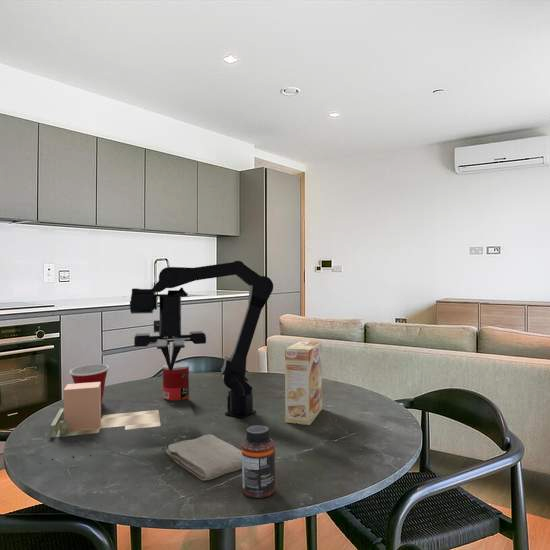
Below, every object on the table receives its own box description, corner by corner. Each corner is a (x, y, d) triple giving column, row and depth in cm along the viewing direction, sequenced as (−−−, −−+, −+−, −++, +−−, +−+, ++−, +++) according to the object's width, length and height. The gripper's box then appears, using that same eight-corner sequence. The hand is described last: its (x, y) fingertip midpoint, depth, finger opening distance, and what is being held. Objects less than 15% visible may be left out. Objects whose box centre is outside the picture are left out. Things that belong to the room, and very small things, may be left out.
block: (101, 419, 117) (100, 381, 117) (99, 427, 112) (98, 387, 112) (67, 423, 115) (67, 384, 115) (64, 430, 109) (63, 389, 109)
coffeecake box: (310, 425, 115) (309, 349, 115) (284, 422, 118) (283, 348, 117) (323, 408, 129) (322, 341, 129) (299, 406, 132) (298, 340, 132)
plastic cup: (61, 412, 128) (60, 370, 128) (85, 402, 138) (85, 363, 138) (94, 415, 125) (94, 372, 125) (117, 404, 136) (116, 364, 136)
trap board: (158, 414, 126) (158, 399, 126) (160, 430, 112) (160, 414, 112) (60, 423, 118) (60, 407, 118) (50, 442, 105) (50, 424, 105)
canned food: (186, 404, 135) (186, 367, 135) (160, 404, 135) (159, 367, 135) (191, 397, 143) (191, 362, 143) (166, 397, 143) (166, 362, 143)
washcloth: (209, 442, 105) (209, 429, 105) (256, 467, 92) (255, 452, 92) (162, 456, 98) (162, 442, 98) (205, 485, 84) (205, 469, 84)
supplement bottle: (257, 480, 85) (256, 420, 85) (282, 490, 81) (281, 427, 81) (235, 492, 80) (234, 429, 80) (260, 503, 76) (259, 437, 76)
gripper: (201, 309, 133) (201, 362, 133) (135, 311, 127) (135, 366, 127) (206, 313, 122) (206, 370, 122) (134, 315, 117) (134, 375, 117)
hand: (170, 370), depth 122 cm, fingers closed
